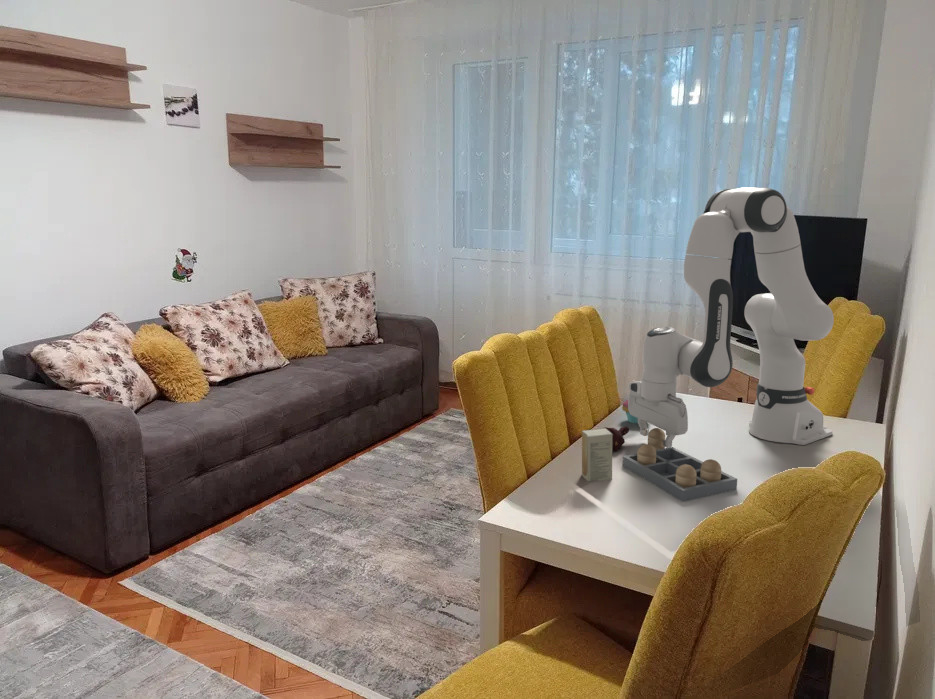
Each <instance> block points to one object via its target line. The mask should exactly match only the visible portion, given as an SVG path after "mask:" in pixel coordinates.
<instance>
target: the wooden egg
mask: <svg viewBox="0 0 935 699" xmlns="http://www.w3.org/2000/svg"><path fill="white" fill-rule="evenodd" d="M664 431H665V430H662V429H660V428H658V427H654V428H651V429H649V433H648V436H647V444H649V445H651V446H653V447H654V448H655V450H659V449H664V448H666V447H665V446H663V440H664V439H666V432H664Z"/></svg>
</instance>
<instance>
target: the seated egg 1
mask: <svg viewBox="0 0 935 699" xmlns="http://www.w3.org/2000/svg"><path fill="white" fill-rule="evenodd" d="M636 454H637V462H639V463H640V464H642V465H649V464H655V463H656V450H655V448H654V447H653V446H651V445H649V444H648V443H646V444H642V445H640V446H639V447H638V449H637V452H636Z"/></svg>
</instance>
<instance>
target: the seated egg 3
mask: <svg viewBox="0 0 935 699" xmlns="http://www.w3.org/2000/svg"><path fill="white" fill-rule="evenodd" d="M702 462H703V463H702V465H701V471H700V478H702V479H704V480H705V481H707V482H709V483H710V482H715V481H719V480H721V471H722V467H721V464H720V463H719V461H717V460H715V459H712V458H710V459H706V460H704V461H702Z"/></svg>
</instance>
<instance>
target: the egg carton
mask: <svg viewBox="0 0 935 699" xmlns="http://www.w3.org/2000/svg"><path fill="white" fill-rule="evenodd" d="M703 462H704V461H702V460H700V459H698V458H695V457H694V456H692V455H690V454H688V453H686V452H684V451H682V450H680V449H678V448H676V447H673V446H671V447H669V448H667V447H665V448H664V449H659V450H656V463H655V464H649V465H642V464H640V463H639V462H637V453H634V454H628V455H627V454H626V455H623V456H622V467H623V468H625V469H627V470H629V471H630V472H632V473H634V474H635V475H637V476H638V477H639V478H642V479H644V480H645V481H647V482H649V483H651V484H652V485H654V486H656V488H659V489H661V490H662V491H664V492H666V493H668V494H669V495H671V496H672V497H674V498H676V499H678V500H679V501H681V502H687V501H691V500H692V501H693V500H697V499H700V498H705V497H709V496H714V495H718V494H722V493H723V494H724V493H727V492H733V491H737V490H738V489H737V488H738V478H736V477H734V476H733V475H730V474H728V473H727V472H724V471H722V470H721V480H719V481H715V482H710V483H709V482H707V481H705V480H704V479H702V478H700V471H701V465H702V463H703ZM684 464H688V465H691V466H692V467H693V468H694V469H695V470H696V474H697V476H696V486H691V487H687V488H683V487H681V486H679V485H678V484H676V483H675V479H676V470H677V468H678V467H679V466H681V465H684Z"/></svg>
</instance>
